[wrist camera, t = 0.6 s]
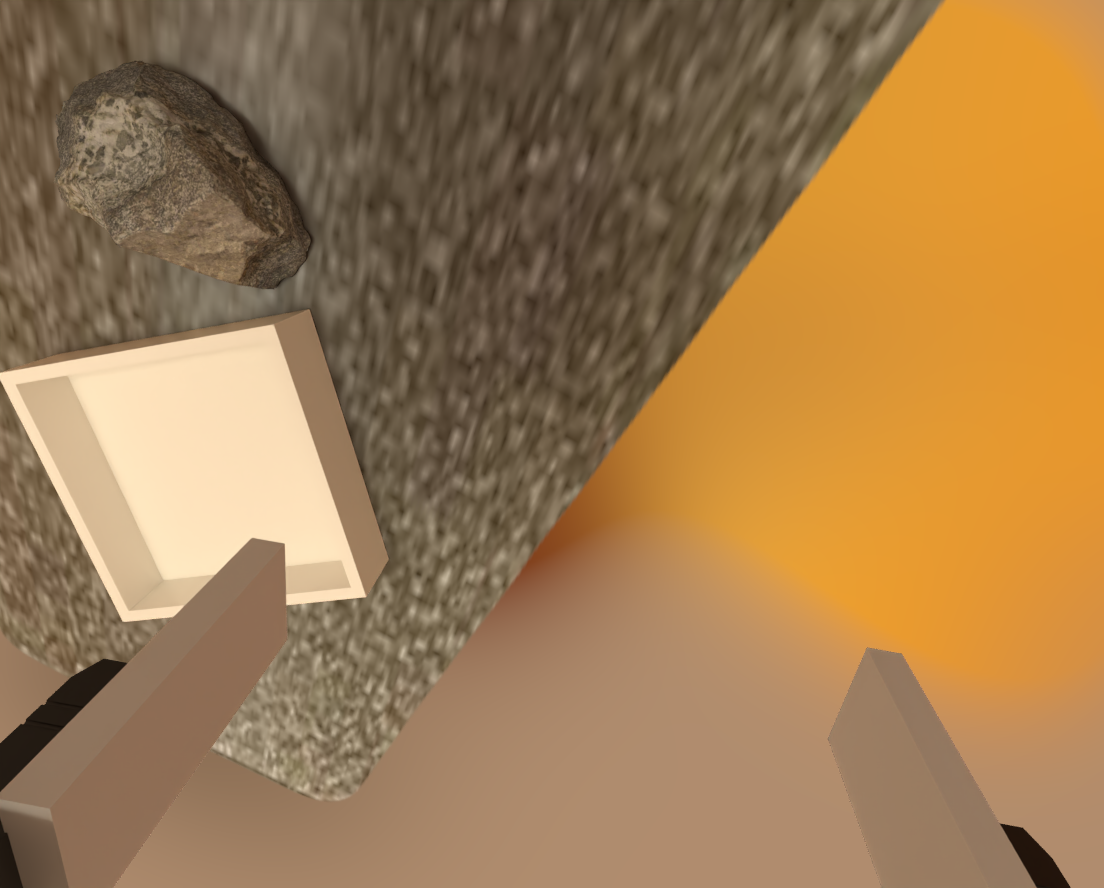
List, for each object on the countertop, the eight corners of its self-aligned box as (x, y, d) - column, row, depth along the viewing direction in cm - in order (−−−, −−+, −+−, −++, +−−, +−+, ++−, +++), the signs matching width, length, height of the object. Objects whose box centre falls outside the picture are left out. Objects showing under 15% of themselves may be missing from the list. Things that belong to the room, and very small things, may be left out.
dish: (57, 354, 42) (-4, 373, 38) (309, 308, 39) (273, 324, 35) (164, 584, 48) (123, 621, 44) (389, 559, 46) (366, 597, 41)
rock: (78, 186, 38) (-23, 187, 32) (113, 32, 35) (8, 0, 29) (292, 300, 39) (234, 322, 33) (344, 162, 36) (290, 158, 30)
